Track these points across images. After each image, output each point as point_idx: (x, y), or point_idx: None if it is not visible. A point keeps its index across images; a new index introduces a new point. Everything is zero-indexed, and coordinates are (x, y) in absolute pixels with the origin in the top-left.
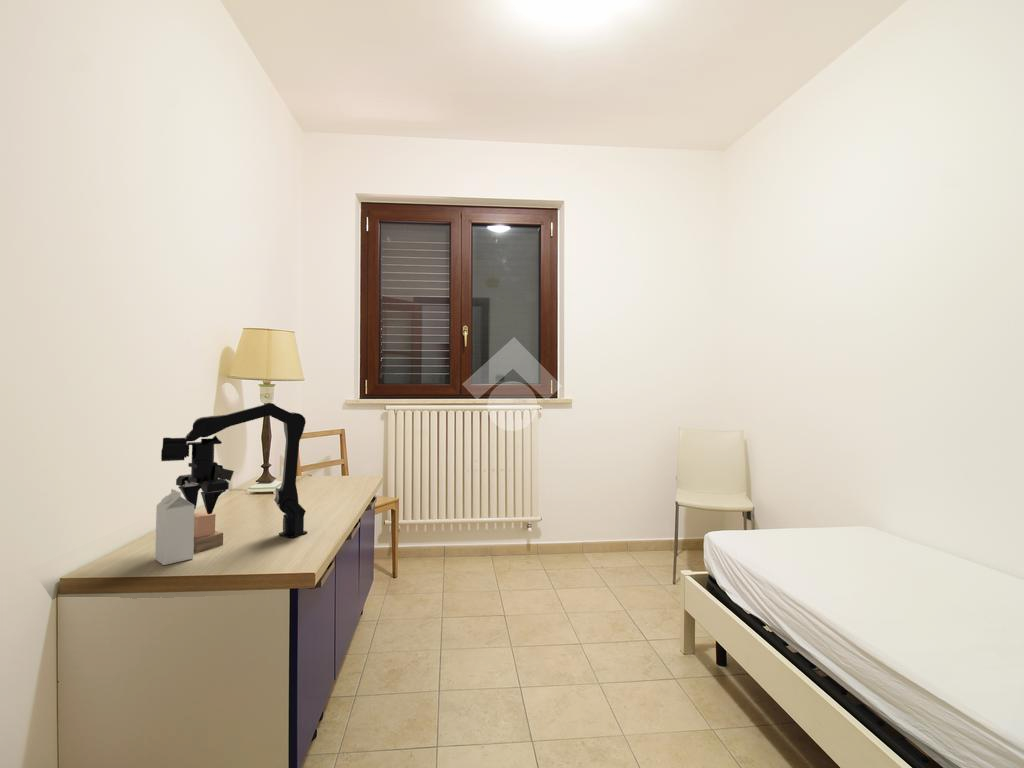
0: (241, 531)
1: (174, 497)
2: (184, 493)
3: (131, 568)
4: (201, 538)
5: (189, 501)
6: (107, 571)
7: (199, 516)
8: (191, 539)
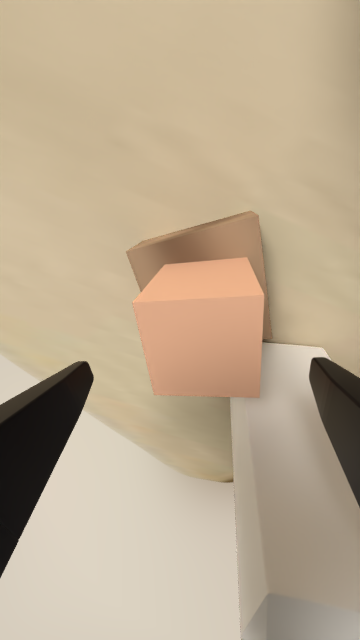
0: (73, 10)
1: None
2: (10, 546)
3: None
4: (266, 321)
5: (63, 442)
6: (230, 456)
7: (247, 385)
8: None
